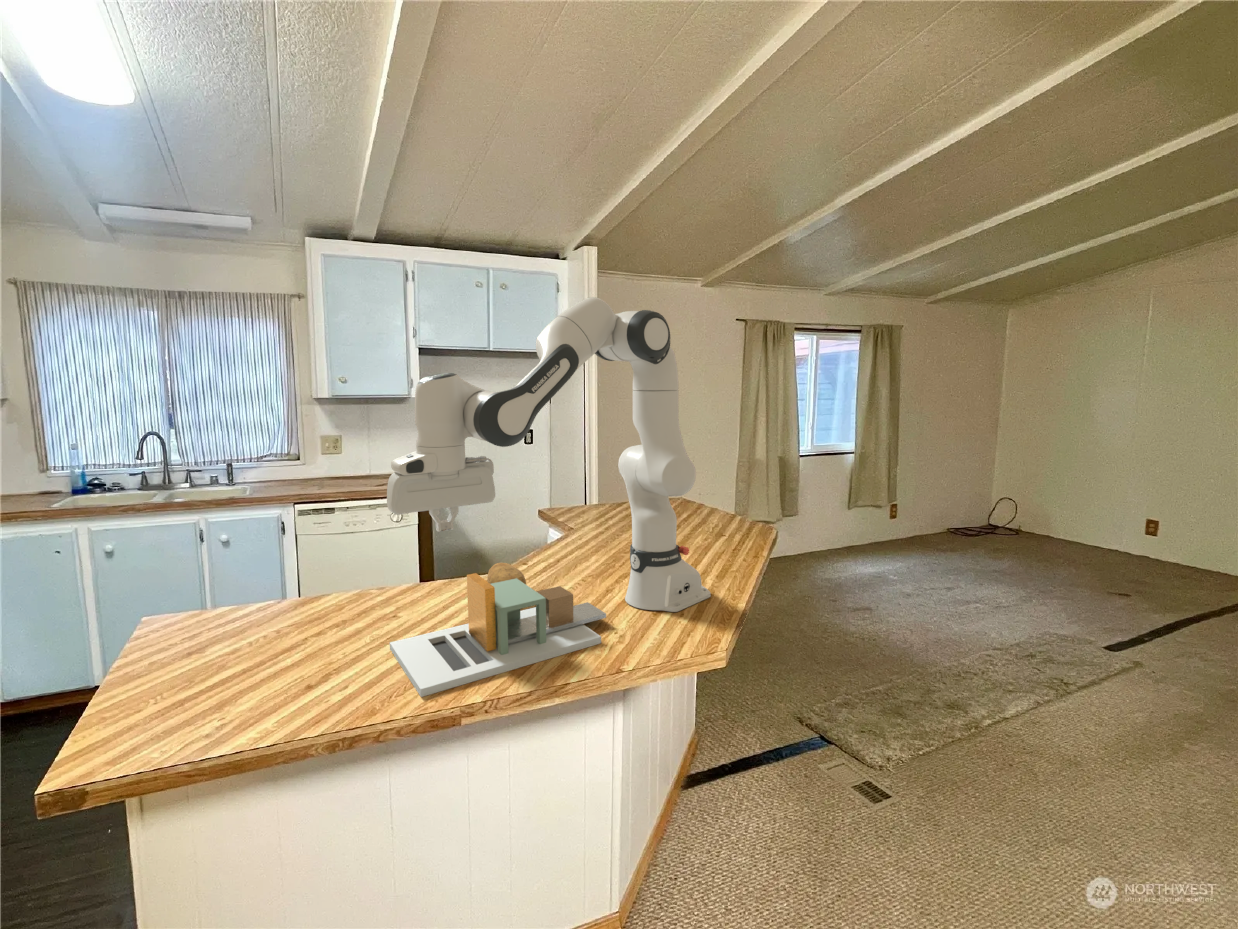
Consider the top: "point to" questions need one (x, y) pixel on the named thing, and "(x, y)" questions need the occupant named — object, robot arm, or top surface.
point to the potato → (504, 573)
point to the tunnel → (517, 609)
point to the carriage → (557, 618)
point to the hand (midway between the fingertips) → (444, 530)
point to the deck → (478, 655)
